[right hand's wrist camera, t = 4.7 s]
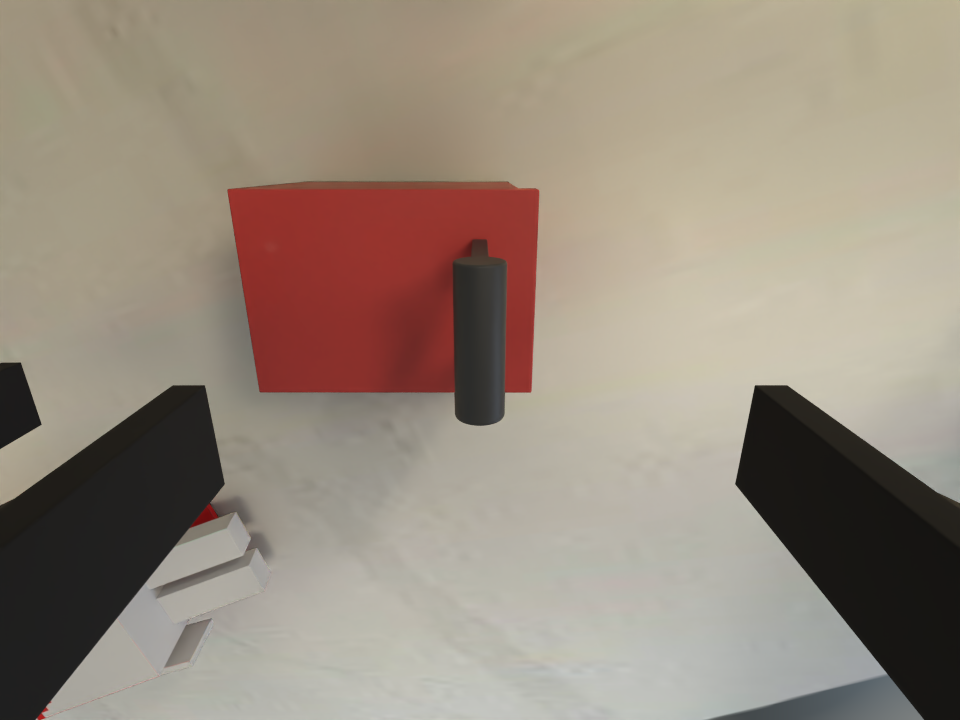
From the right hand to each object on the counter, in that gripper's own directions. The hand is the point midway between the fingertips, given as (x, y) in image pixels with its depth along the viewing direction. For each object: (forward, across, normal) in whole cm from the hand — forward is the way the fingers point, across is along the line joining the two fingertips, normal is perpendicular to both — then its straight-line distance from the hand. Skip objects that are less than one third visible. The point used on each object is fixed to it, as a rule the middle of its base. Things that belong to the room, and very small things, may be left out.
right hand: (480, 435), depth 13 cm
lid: (+15, -4, 0) cm, 16 cm away
